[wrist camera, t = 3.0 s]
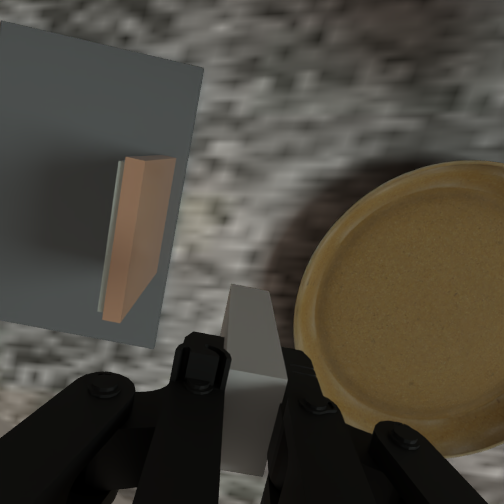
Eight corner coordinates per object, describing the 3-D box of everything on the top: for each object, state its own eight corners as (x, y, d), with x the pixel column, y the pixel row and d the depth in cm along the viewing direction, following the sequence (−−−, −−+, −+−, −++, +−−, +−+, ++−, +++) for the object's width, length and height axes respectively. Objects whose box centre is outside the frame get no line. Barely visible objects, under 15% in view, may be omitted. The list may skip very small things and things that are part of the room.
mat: (4, 22, 29) (1, 20, 29) (203, 69, 30) (203, 67, 30) (-18, 314, 34) (-21, 316, 34) (154, 346, 35) (153, 349, 35)
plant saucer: (638, 236, 34) (679, 245, 31) (481, 470, 39) (502, 499, 36) (374, 105, 31) (389, 99, 28) (241, 375, 36) (241, 396, 33)
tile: (157, 153, 31) (117, 155, 21) (176, 157, 31) (145, 160, 21) (138, 269, 33) (94, 318, 23) (156, 272, 33) (120, 323, 23)
